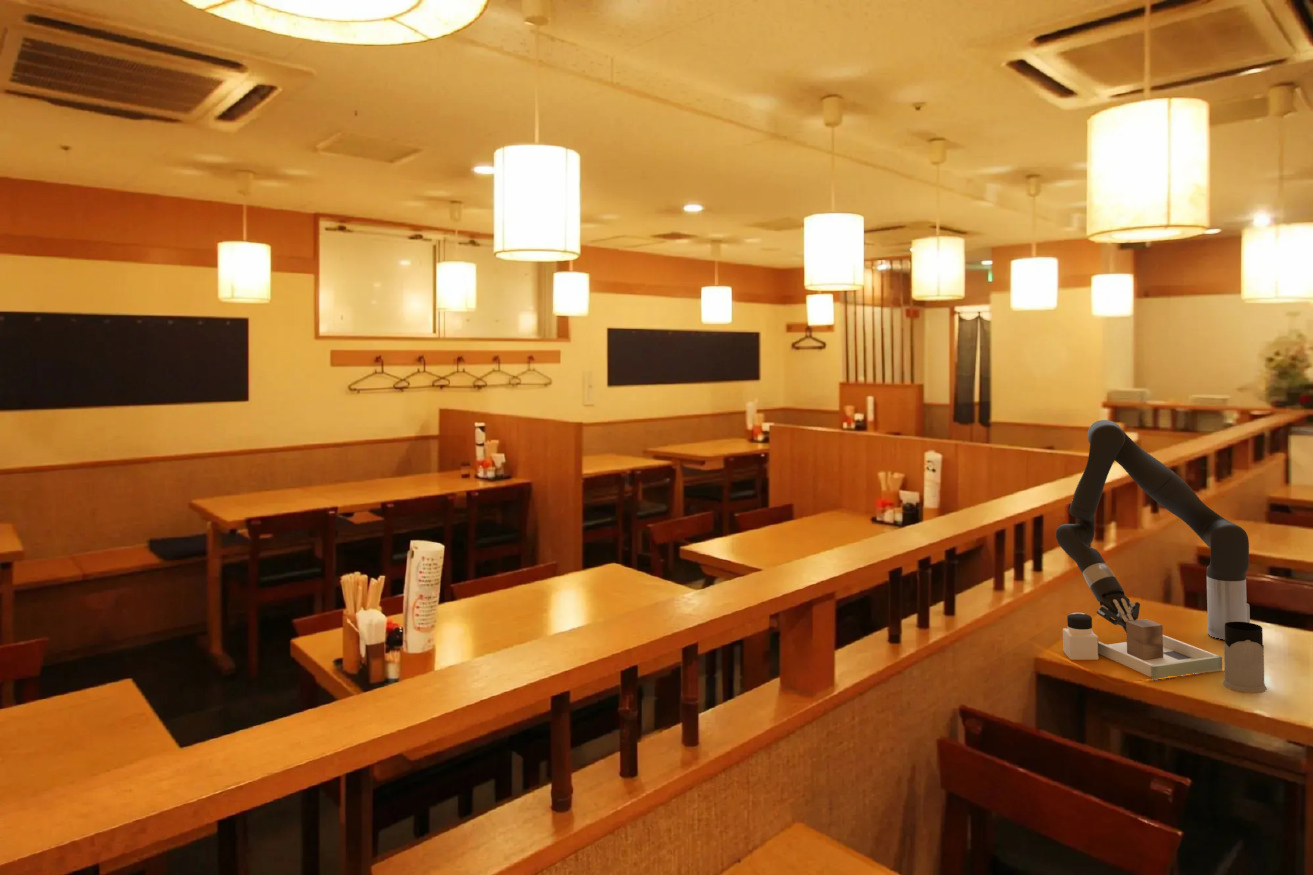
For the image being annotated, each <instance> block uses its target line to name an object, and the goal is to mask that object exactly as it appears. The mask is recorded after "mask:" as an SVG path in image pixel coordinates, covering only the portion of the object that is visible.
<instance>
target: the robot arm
mask: <svg viewBox="0 0 1313 875" xmlns="http://www.w3.org/2000/svg"><path fill="white" fill-rule="evenodd" d="M1087 440H1088V442H1089V450H1088V451H1089V453H1088V457H1087V458H1088V459H1087V461H1086V465H1085V469H1084V471H1083V474H1082V476H1081V477H1080V480H1079V481H1078V483H1077V485H1076V488H1075V490H1074V493H1073V496H1072V499H1073V501H1072V500H1071V502H1072V503H1071V502H1070V505H1069V506H1070V507H1069V511H1068V512H1069V514H1070V515H1071V516H1072V517H1074V518H1076V521H1075V522H1076V523H1064V524H1061V525H1059V526H1058V527H1057V528H1056V531H1055V539H1056V542H1057V543H1058V546H1060V548H1061V549H1062V550H1063V551H1064V552H1065V553H1066V554H1067V555H1068V556H1069V557H1070V558H1071V559H1072V560H1073V561H1074V562H1075V563H1076V565H1077V566H1078V569H1079V570H1080V572H1081V574H1082V575H1083V577H1084V580H1085V582H1086V584H1087V586H1088V587H1089V589H1090V590H1091V592H1092V595H1093V596H1094V598H1095V599H1096V601H1097V602H1099V605H1100V607H1099V608H1098V609H1097V611H1096V614H1097V615H1099V616H1100V617H1102V618H1103V619H1105V620H1106V621H1108V622H1110V623H1111V624H1113V626H1117V625H1118V626H1121V627H1122V628H1123V630H1124V631H1125V633H1126V634H1127V631H1126V621H1133V620H1139V616H1140V614H1139V613H1140V608H1141V604H1140V603H1139V602H1138V601H1136V602H1135V603H1134V602H1133V601H1130V599H1129V597H1128V596H1126V595H1125V590H1124V589H1123V587H1122V585H1121V584H1120V582H1119V580H1118V579H1117V577H1116V575H1115V573H1114V572H1113V570H1112V569H1111V568H1110V567H1109V566H1108V564H1107V563H1106V561H1105V560H1104V558H1103V556H1102V555H1101V553H1100V552H1099V551H1098V549H1096V548H1093V547H1090V546H1089V545H1091V544H1092V542H1093V540H1094V539H1095V528H1096V526H1095V525H1096V524H1095V523H1096V518H1095V517H1096V512H1097V510H1098V507H1099V505H1100V500H1101V498H1102V495H1103V491H1104V488H1105V486H1106V482H1107V478H1108V475H1109V473H1110V471H1111V468H1112V466H1113V464H1114V462H1116V463H1117V464H1118V465H1119V466H1121V468H1122V469H1124V471H1125V472H1126V473H1127V474H1128V475H1129V477H1130V478H1131V479H1132V480H1133V481H1134V482H1135V484H1136V485H1137V486H1138V487H1140V489H1141V490H1142V491H1143V492H1145V493H1146V494H1147V495H1148V496H1150V498H1152V500H1153V501H1155V502H1156V503H1157V504H1158V505H1160V506H1162V508H1164V509H1165V510H1166V511H1168V512H1169V513H1172V514H1173V515H1174V516H1176V517H1177V518H1179V519H1180V520H1182V522H1184V523H1185V524H1186V525H1187V526H1188V527H1189V528H1190V529H1191V530H1192V531H1193V532H1194V533H1195V534H1196V535H1197V536H1198V537H1199V539H1201V540H1202V541H1203V542H1204V543H1205V545H1206V546H1207V547H1208V548H1210V550H1209V551H1210V553H1209V554H1210V557H1209V560H1210V561H1209V565H1208V566H1207V567H1206V600H1207V601H1206V603H1207V604H1206V605H1207V606H1206V607H1207V608H1206V609H1207V612H1206V613H1207V635H1208V634H1209V635H1211V636H1212V637H1211V636H1210V637H1211V638H1213V637H1215V638H1214V639H1216V638H1219V639H1218V640H1220V639H1223V640H1222V641H1225V623H1227V622H1233V621H1235V622H1248V623H1251V619H1250V618H1251V616H1250V614H1251V613H1250V611H1251V610H1250V604H1249V603H1247V572H1248V571H1249V570H1248V569H1249V566H1250V564H1249V563H1250V562H1249V561H1250V542H1249V541H1250V540H1249V535H1248V533H1247V532H1246V530H1245V529H1244V528H1242V527H1241V526H1239V525H1237V524H1236V523H1233V522H1232V521H1230V520H1228V519H1226V518H1224V517H1223V516H1222V515H1220V514H1219V513H1217V512H1215V511H1214V510H1213V509H1212V508H1210V507H1208V506H1207V505H1206V504H1205V503H1204V502H1203V501H1202V500H1201V499H1200V497H1199V496H1198V495H1197V494H1196V492H1195V491H1194V490H1193V488H1192V487H1191V486H1190V485H1189V484H1187V482H1186V481H1185V480H1184V479H1182V478H1181V477H1180V476H1179V475H1178V474H1176V472H1175V471H1173V470H1172V469H1170V468H1169V467H1168V466H1166V465H1165V464H1164V463H1162V462H1161V461H1159V460H1158V459H1157V458H1156V457H1154V456H1153V455H1151V454H1150V453H1148V452H1147V451H1145V450H1144V449H1142V448H1141V447H1140V446H1139V445H1138V444H1137V443H1136V442H1135V441H1133V439H1132V438H1131V437H1130V436H1129V435H1128V434H1127V433H1126V432H1125V431H1124V430H1123V429H1122V428H1121V426H1120V425H1119V424H1118V423H1117V422H1115V421H1112V420H1109V419H1101V420H1096V421H1095V422H1093V423H1091V425H1090V426H1089V428H1088V430H1087ZM1209 635H1208V636H1209Z"/></svg>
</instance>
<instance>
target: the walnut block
mask: <svg viewBox="0 0 1313 875" xmlns="http://www.w3.org/2000/svg"><path fill="white" fill-rule="evenodd" d="M1163 626H1164V625H1163V624H1161V623H1159V622H1156V621H1153V620H1150V619H1148V618H1141V619H1137V620H1133V621H1126V631H1127V633H1126V642H1127V653H1128V654H1130V655H1132V656H1134V657H1137V658H1139V659H1141V660H1150V659H1158V658H1163V635H1164V634H1163V632H1164V631H1163Z"/></svg>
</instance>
